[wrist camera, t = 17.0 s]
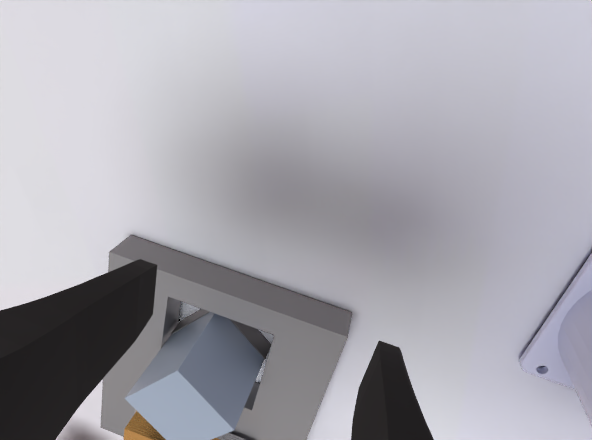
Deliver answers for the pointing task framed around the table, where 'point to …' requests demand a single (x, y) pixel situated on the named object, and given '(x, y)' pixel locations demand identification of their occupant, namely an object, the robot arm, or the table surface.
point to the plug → (200, 377)
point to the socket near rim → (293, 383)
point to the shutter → (144, 436)
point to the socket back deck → (118, 411)
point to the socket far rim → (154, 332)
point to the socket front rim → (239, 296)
